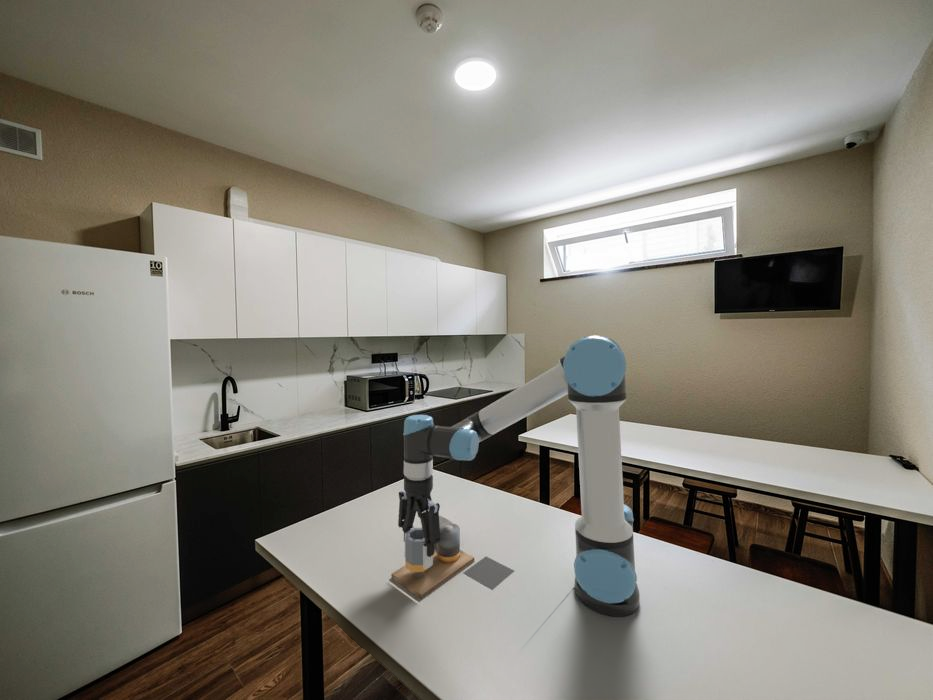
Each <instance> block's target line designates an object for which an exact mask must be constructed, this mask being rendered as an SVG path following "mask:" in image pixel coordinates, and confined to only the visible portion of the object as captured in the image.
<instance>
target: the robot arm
mask: <svg viewBox="0 0 933 700" xmlns="http://www.w3.org/2000/svg"><path fill="white" fill-rule="evenodd" d="M557 362H558V363H557V364H556V365H555V366H554V367H551V368H550V369H548V370H546V371H545V372H543V373H541V374H539V375H538V376H537V377H535V378H533V379H531V380H530V381H528V382H526V383H524V384H523V385H521V386H519V387H517V388H516V389H514V390H512V391H510V392H509V393H507V394H505V395H504V396H502V397H500V398H499V399H497V400H496V401H494V402H492V403H490V404H489V405H487V406H485V407H484V408H482V409H480V410H479V411H477V412H475V413H472V414H471V415H470V416H467V417H466V418H464V419H463V420H461V421H459V422H457V423H455V424H454V425H451V426H441V425H436V424H434V418H433V416H430V415H427V414H413V415H409V416H407V417H406V418H405V419H404V422H403V424H404V425H403V433H402V435H403V452H404V453H403V455H404V456H403V475H404V477H403V490H401V491H399V492H398V497H399V503H398V505H399V507H398V520H397V521H398V522H397V524H398V525H397V526H398V528H401V529H402V531H403V542H404V543H405V537H406V532H407V531H409V530H411V529H413V528H415V526H414V522H415V518H416V514H417V517H418V518H419V519H420V523H421V524H420V525H421V528H422V529H423V534H424V538H425V543H424V544H423V569H425V570H426V569H427V568H429V567H430V566H432V565H433V555H434V545H435V544H436V543H438V542H440V525H439V516H440V513H439V511H440V508H441V505H440V503H439V502H437V503H435V502H433V500H432V497H431V492H432V490H433V487H434V476H433V471H434V470H433V467H434V465H433V464H434V463H433V462H434V457H440V458H446V459H453V460H455V461H473V460H474V459H475V458H476V456H477V454H478V451H479V445H480V444H479V443H480V442H483V441H484V440H486V439H488V438H490V437H491V436H493V435H495V434H497V433H498V432H501V431H502V430H504V429H506V428H508V427H510V426H511V425H513V424H516V423H517V422H519V421H520V420H522V419H524V418H527V417H528V416H530V415H532V414H534V413H535V412H538V411H540V409H541V410H542V409H543V408H544V407H546V406H548V405H550V404H552V403H553V402H555V401H558V400H559V399H561V398H564V397H565V396H567V397H568V398H567V400H568V402H570V403H571V404H572V406H573V407H575V415H576V431H577V433H576V434H577V449H578V450H577V451H578V453H577V454H578V468H579V471H578V472H579V485H580V487H579V488H580V489H579V491H580V507H581V515H580V516H579V517H578V518H577V519H576V521H575V523H574V527H575V528H574V529H575V531H574V532H575V533H574V534H575V550H576V551H575V552H576V553H575V555H576V556H575V558H574V563H573V569H574V576H575V577H574V592H575V595H576V596H577V598H578V599H579V600H580V602H581V603H583V604H584V605H585V606H586V607H587V608H589V609H591V610H593V611H595V612H596V613H599V614H602V615H606V616H610V617H627V616H630V615H632V614H634V613H635V612H636V611H637V610H638V609H639V607H640V590H639V587H638V584H637V581H638V580H637V578H638V577H637V576H638V575H637V573H636V566H635V565H636V563H635V562H636V561H635V544H634V530H633V529H634V524H633V523H634V520H635V519H634V514H633V511H632V508H630V506H628V505H627V504H625V503H624V484H623V483H624V481H623V466H622V465H623V463H622V461H623V460H622V443H621V426H620V425H621V423H620V407H621V406H622V405H623V404H624V403H625V402H626V401H627V385H626V370H627V363H626V362H627V361H626V357H625V354H624V352H623V350H622V348H621V347H620V345H619V344H618V343H617V342H616V341H614V340H613V339H612V338H609V337H608V336H603V335H595V334H594V335H593V334H591V335H589V336H583V337H581V338H579V339H577V340H575V341H574V342H573V343H572V344H571V345H570V346H569V347H568V349H567V351H566V353H565V355H564V356H562V357H560V358H559V359H558V361H557ZM429 538H430V539H429Z"/></svg>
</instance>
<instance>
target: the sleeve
mask: <svg viewBox="0 0 933 700" xmlns="http://www.w3.org/2000/svg"><path fill="white" fill-rule="evenodd" d="M429 539H430V538H429ZM424 543H425V538H424V534H423V529H422V527H414V528H412V529H411V530H409V531H407V532H406V537H405V542H404V558H405V563H404V564H405V565H404V566H405V568H407V569H408V570H410V571H411V572H424V571H425V569H423V544H424ZM430 567H431V566H430ZM430 567H429V568H430ZM427 569H428V568H427ZM427 569H426V570H427Z"/></svg>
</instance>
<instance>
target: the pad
mask: <svg viewBox="0 0 933 700" xmlns="http://www.w3.org/2000/svg"><path fill="white" fill-rule="evenodd" d="M514 572H515V570H514V569H512V568H510V567H508V566H506V565H504V564H502V563H500V562H498V561H496V560H494V559H493V558H491V557H489V556H484V557H483V558H481V559H480V560H479V561H478V562H476V563H475V564H473V565H472V566H470V567H469V568H468V569H466V570H465V571H464V572H463V574H464V575H465V576H467V577H469V578H471V579H472V580H474V581H476V582H477V583H478V584H479V583H480V584H481V585H483V586H484V587H487V588H488V589H490V590H492V591H493V590H494V589H495V588H497V587H498V586H499V585H500V584H501V583H502V582H503V581H505V579H507V578H508V577H510V575H512V574H513V573H514Z"/></svg>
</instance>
